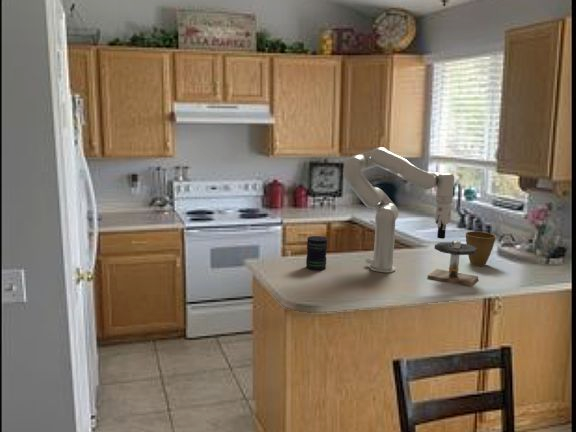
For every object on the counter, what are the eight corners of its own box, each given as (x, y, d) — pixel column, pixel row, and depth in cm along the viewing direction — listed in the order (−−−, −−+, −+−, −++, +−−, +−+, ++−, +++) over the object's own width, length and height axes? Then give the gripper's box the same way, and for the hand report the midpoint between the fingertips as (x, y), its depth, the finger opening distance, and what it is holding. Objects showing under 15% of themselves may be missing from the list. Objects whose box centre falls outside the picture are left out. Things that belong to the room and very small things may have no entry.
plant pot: (457, 261, 300) (459, 231, 297) (480, 260, 304) (483, 231, 301) (474, 268, 286) (477, 238, 283) (498, 267, 290) (502, 237, 288)
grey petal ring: (430, 250, 261) (430, 247, 260) (442, 243, 276) (442, 240, 276) (470, 256, 252) (470, 253, 251) (479, 249, 267) (480, 246, 266)
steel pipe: (447, 276, 265) (450, 241, 262) (449, 273, 269) (452, 240, 266) (456, 277, 263) (459, 243, 260) (459, 275, 267) (462, 241, 264)
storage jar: (302, 266, 278) (303, 236, 275) (319, 264, 282) (320, 235, 280) (312, 271, 269) (313, 241, 267) (329, 269, 274) (331, 239, 271)
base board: (427, 278, 266) (427, 275, 265) (436, 271, 277) (436, 268, 277) (470, 286, 255) (470, 283, 255) (478, 279, 267) (478, 276, 267)
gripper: (447, 202, 255) (444, 242, 258) (456, 198, 268) (453, 236, 271) (431, 200, 259) (428, 239, 262) (440, 197, 272) (437, 234, 275)
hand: (441, 238), depth 267 cm, fingers closed
